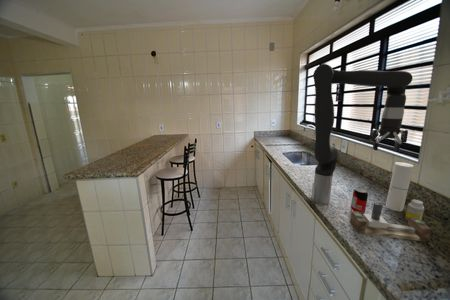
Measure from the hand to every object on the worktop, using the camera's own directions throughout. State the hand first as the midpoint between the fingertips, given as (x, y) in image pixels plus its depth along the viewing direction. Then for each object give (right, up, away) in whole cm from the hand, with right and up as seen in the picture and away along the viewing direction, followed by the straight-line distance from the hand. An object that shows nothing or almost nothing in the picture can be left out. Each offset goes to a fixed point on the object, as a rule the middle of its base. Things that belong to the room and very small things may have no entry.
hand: (385, 150), depth 93 cm
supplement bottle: (+13, -34, -1) cm, 37 cm away
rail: (-7, -36, -8) cm, 38 cm away
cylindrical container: (+13, -32, +10) cm, 36 cm away
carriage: (-12, -33, -8) cm, 36 cm away
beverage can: (-8, -32, +8) cm, 34 cm away
